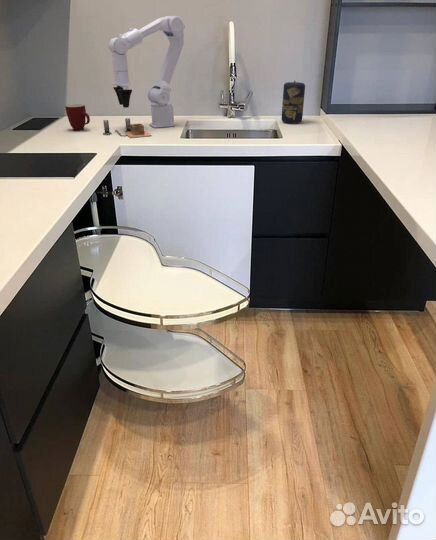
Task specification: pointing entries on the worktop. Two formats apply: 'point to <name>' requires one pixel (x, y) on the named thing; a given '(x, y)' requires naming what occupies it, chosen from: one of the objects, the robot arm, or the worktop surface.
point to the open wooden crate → (137, 129)
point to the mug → (77, 116)
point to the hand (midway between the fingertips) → (124, 106)
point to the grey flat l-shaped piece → (119, 133)
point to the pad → (138, 135)
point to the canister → (293, 102)
